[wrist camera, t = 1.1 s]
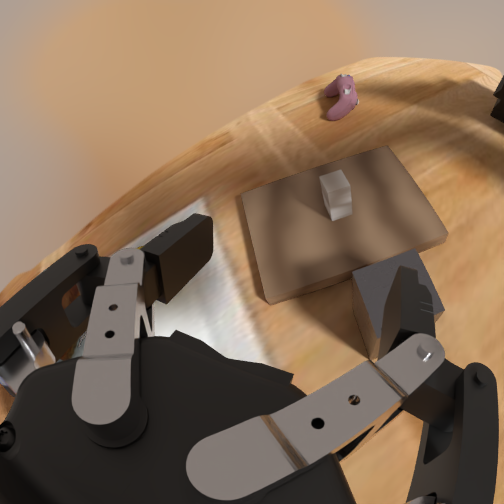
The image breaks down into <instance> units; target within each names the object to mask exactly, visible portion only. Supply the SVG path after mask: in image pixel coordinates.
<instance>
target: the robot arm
mask: <svg viewBox="0 0 504 504" xmlns="http://www.w3.org/2000/svg"><path fill="white" fill-rule="evenodd" d="M212 253H213V220H212V218H211V217H209V216H205V215H201V214H196V213H195V214H193V215H191V216H190V217H189V218H187V219H186V220H184V221H182V222H179V223H177V224H174V225H172V226H170V227H169V228H167V229H166V230H165V231H164V232H162V233H161V234H159V236H157V237H155V238H154V239H152V240H151V241H150V242H148V243H147V244H146V245H144V246H143V247H142V248H140V249H136V248H126V249H122V250H119V251H117V252H116V253H114V254H113V255H112V256H111V257H100V256H99V254H98V250H97V247H96V246H94V245H91V244H85V245H80V246H78V247H75V248H74V249H72V250H71V251H69V252H68V253H67V254H65V255H64V256H63V257H61V258H60V259H59V260H57V261H56V262H55V263H53V264H52V265H51V266H50V267H48V268H47V269H46V270H44V271H43V272H42V273H41V274H39V275H38V276H37V277H36V278H34V279H33V280H32V281H31V282H30V283H28V284H27V285H26V286H25V287H23V288H22V289H21V290H20V291H19V292H17V293H16V294H15V295H14V296H13V297H12V298H10V299H9V300H8V301H7V302H6V303H5V304H4V305H2V306H1V307H0V384H2V385H3V386H4V388H5V389H6V390H7V391H8V392H9V393H10V395H11V396H13V397H15V400H14V402H13V405H12V407H11V409H10V411H9V413H8V415H7V417H6V418H5V420H4V422H3V423H2V424H1V425H0V504H356V502H355V499H354V497H353V494H352V492H351V490H350V487H349V485H348V482H347V480H346V477H345V475H344V473H343V470H342V468H341V465H340V463H341V462H342V461H344V460H345V459H347V458H348V457H349V456H351V455H352V454H353V453H355V452H356V451H357V450H358V449H360V448H361V447H362V446H363V445H364V444H365V443H367V442H368V441H369V440H370V439H371V438H373V437H374V436H375V435H376V434H378V433H379V432H380V431H381V430H382V429H384V428H385V427H386V426H387V425H389V424H390V423H391V422H392V421H393V420H394V419H396V418H397V417H398V416H399V415H400V414H401V413H402V412H403V411H407V412H408V413H410V414H412V415H414V416H415V417H417V418H419V419H421V420H423V421H424V422H423V429H422V435H421V441H420V446H419V451H418V456H417V461H416V465H415V470H414V474H413V478H412V482H411V486H410V490H409V493H408V497H407V500H406V503H405V504H493V500H494V493H495V485H496V476H497V464H498V442H499V418H498V396H497V383H496V379H495V376H494V374H493V373H492V371H491V370H490V369H489V368H488V367H487V366H485V365H483V364H481V363H476V362H474V363H471V364H469V365H467V367H466V368H465V369H462V368H460V367H458V366H456V365H455V364H453V363H451V362H449V361H448V360H447V359H445V351H444V348H443V346H442V345H441V343H440V342H439V341H438V340H437V339H436V335H435V322H434V314H433V312H434V311H433V306H432V305H433V302H432V295H431V293H430V291H429V290H428V288H427V286H426V285H422V284H419V281H418V271H417V270H415V269H412V268H408V267H405V266H401V265H400V266H399V267H398V270H397V272H396V275H395V278H394V280H393V283H392V286H391V288H390V291H389V294H388V296H387V299H386V302H385V306H384V312H383V321H382V330H381V338H380V346H379V353H378V360H377V362H375V363H373V362H372V361H371V360H367V361H365V362H363V363H361V364H360V365H358V366H357V367H355V368H354V369H352V370H350V371H349V372H347V373H346V374H344V375H342V376H341V377H339V378H337V379H336V380H334V381H332V382H331V383H329V384H327V385H326V386H324V387H322V388H320V389H319V390H317V391H315V392H313V393H312V394H310V395H308V396H307V395H306V394H305V393H304V392H303V391H301V390H300V389H299V388H297V387H296V386H294V385H293V384H291V382H292V379H293V375H294V374H292V373H289V372H286V371H283V370H280V369H277V368H274V367H271V366H268V365H265V364H262V363H254V362H247V361H240V360H234V359H228V358H226V357H224V356H223V355H221V354H220V353H218V352H217V351H216V350H214V349H213V348H211V347H210V346H208V345H207V344H206V343H204V342H203V341H201V340H199V339H196V338H194V337H192V336H189V335H187V334H184V333H182V332H180V331H177V330H175V331H174V333H173V334H172V335H171V336H170V337H162V336H155V332H154V305H153V303H154V302H155V301H156V300H158V301H160V302H162V303H165V304H167V303H168V302H169V301H170V300H171V299H172V298H173V297H174V296H175V295H176V294H177V293H178V292H179V291H180V290H181V289H182V288H183V287H184V286H185V285H186V284H187V283H188V282H189V281H190V280H191V279H192V278H193V277H194V276H195V275H196V274H197V273H198V272H199V271H200V270H201V268H202V267H203V266H204V265H205V264H206V263H207V262H208V261H209V260H210V258H211V256H212ZM75 284H76V285H77V287H78V290H79V293H80V295H79V296H78V297H77V298H76V299H75V300H74V301H73V302H72V303H71V304H70V305H69V306H67V307H66V308H65V309H63V306H62V298H63V296H64V294H65V293H66V292H67V291H69V290H70V289H71V288H72V287H73V286H74V285H75ZM86 330H87V334H86V339H85V345H84V351H83V355H82V356H79V357H75V358H72V359H68V360H65V361H61V362H57V361H58V360H59V359H60V358H61V357H62V356H63V355H64V353H65V352H66V351H67V350H68V349H69V348H70V347H71V346H72V345H73V344H74V343H75V342H76V341H77V340H78V339H79V337H80V336H81V335H82V334H83V333H84V332H85V331H86ZM56 362H57V363H56Z"/></svg>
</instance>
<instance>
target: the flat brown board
mask: <svg viewBox="0 0 504 504" xmlns="http://www.w3.org/2000/svg"><path fill="white" fill-rule="evenodd" d="M241 198H242V202H243V206H244V210H245V214H246V218H247V223H248V227H249V231H250V235H251V239H252V244H253V248H254V252H255V256H256V260H257V265H258V269H259V273H260V277H261V281H262V286H263V290H264V294H265V298H266V300H267V301H268V303H269V304H270V305H274V304H277V303H280V302H283V301H286V300H289V299H292V298H295V297H298V296H301V295H304V294H307V293H310V292H313V291H316V290H319V289H322V288H325V287H328V286H331V285H334V284H337V283H340V282H342V281H345V280H348V279H351V278H352V272H353V271H355V270H358V269H361V268H364V267H366V266H369V265H372V264H375V263H377V262H380V261H383V260H385V259H388V258H391V257H393V256H396V255H399V254H401V253H404V252H406V251H409V250H412V249H414V248H415V249H416V251H417V252H418V253H420V252H422V251H425V250H427V249H430V248H432V247H435V246H437V245H440V244H442V243H444V242H445V241H446V238H447V235H448V231H447V230H446V228H445V226H444V225H443V223H442V221H441V220H440V218H439V217H438V215H437V214H436V212H435V210H434V209H433V207H432V206H431V204H430V203H429V201H428V200H427V198H426V197H425V195H424V194H423V192H422V191H421V190H420V188H419V187H418V185H417V184H416V182H415V181H414V180H413V178H412V177H411V176H410V174H409V173H408V171H407V170H406V169H405V167H404V166H403V165H402V163H401V162H400V161H399V160H398V158H397V157H396V156H395V154H394V153H393V152H392V151H391V149H390V148H389V147H388V146H384V147H380V148H377V149H373V150H370V151H367V152H363V153H360V154H357V155H353V156H350V157H347V158H344V159H341V160H337V161H334V162H331V163H328V164H325V165H322V166H319V167H316V168H313V169H310V170H307V171H304V172H301V173H298V174H295V175H292V176H289V177H286V178H283V179H280V180H278V181H275V182H272V183H269V184H266V185H263V186H261V187H258V188H255V189H252V190H250V191H247V192H244V193H242V194H241Z"/></svg>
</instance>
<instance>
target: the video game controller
mask: <svg viewBox="0 0 504 504" xmlns="http://www.w3.org/2000/svg"><path fill="white" fill-rule="evenodd" d="M339 93H340V97H339V101H338V102H337V103H336V104H335V105H334V106H333V107H331V108H330V109H329V111H328V112H327V118H328V119H329V120H331V121H335V120H339V119H341V118H343V117H344V116H345V115H347V114H348V113H349V112H350V111H351V110H353V109H354V107H355V105H357V104H358V103H359V100H358V99H357V92H355V84H354V80H353V77H351V76H350V75H346V74H345V75H342V74H341V75H339V76H337V78H336V79H335V80H334V81H333V82H332V83H330V84H329V85H328V86H327V87H326V88H325V90H324V94H325V95H326V96H327V97H333V96H336V95H338V94H339Z"/></svg>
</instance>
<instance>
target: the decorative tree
mask: <svg viewBox="0 0 504 504" xmlns="http://www.w3.org/2000/svg"><path fill="white" fill-rule="evenodd" d="M493 95H494V96H495V97H497V98H498V99H497V102H496V104H495V106H494V108H493V110H492V113H491V116H492V117H494V118H496V119H498V120H500V121H501V122H503V123H504V76H503V78H502V79H501V81H500V83H499V85H498V87H497V89H496V91H495V92H494V94H493Z"/></svg>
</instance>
